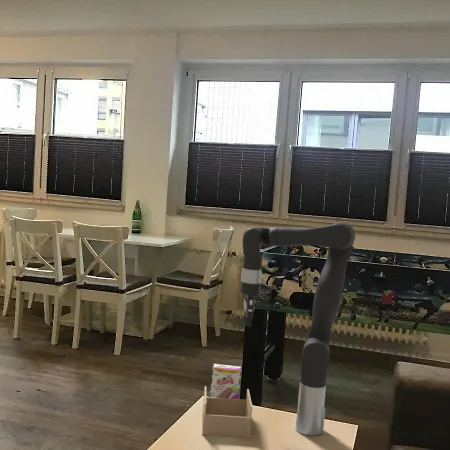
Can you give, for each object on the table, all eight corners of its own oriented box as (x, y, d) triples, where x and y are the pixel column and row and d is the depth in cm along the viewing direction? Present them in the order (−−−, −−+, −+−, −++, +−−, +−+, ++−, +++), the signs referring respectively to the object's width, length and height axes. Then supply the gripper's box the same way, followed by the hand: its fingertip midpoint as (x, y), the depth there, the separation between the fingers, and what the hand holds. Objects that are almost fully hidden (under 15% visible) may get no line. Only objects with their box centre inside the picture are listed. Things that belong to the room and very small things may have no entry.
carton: (246, 418, 209) (248, 389, 208) (249, 437, 192) (252, 406, 192) (202, 415, 208) (204, 386, 207) (202, 434, 192) (204, 403, 191)
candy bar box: (208, 409, 214) (211, 367, 213) (209, 404, 219) (212, 363, 217) (237, 412, 213) (241, 370, 212) (238, 407, 218) (241, 366, 217)
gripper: (263, 285, 203) (259, 329, 204) (259, 278, 217) (255, 319, 218) (242, 283, 203) (238, 327, 204) (239, 276, 217) (236, 318, 218)
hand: (247, 323), depth 211 cm, fingers open, 8 cm apart
